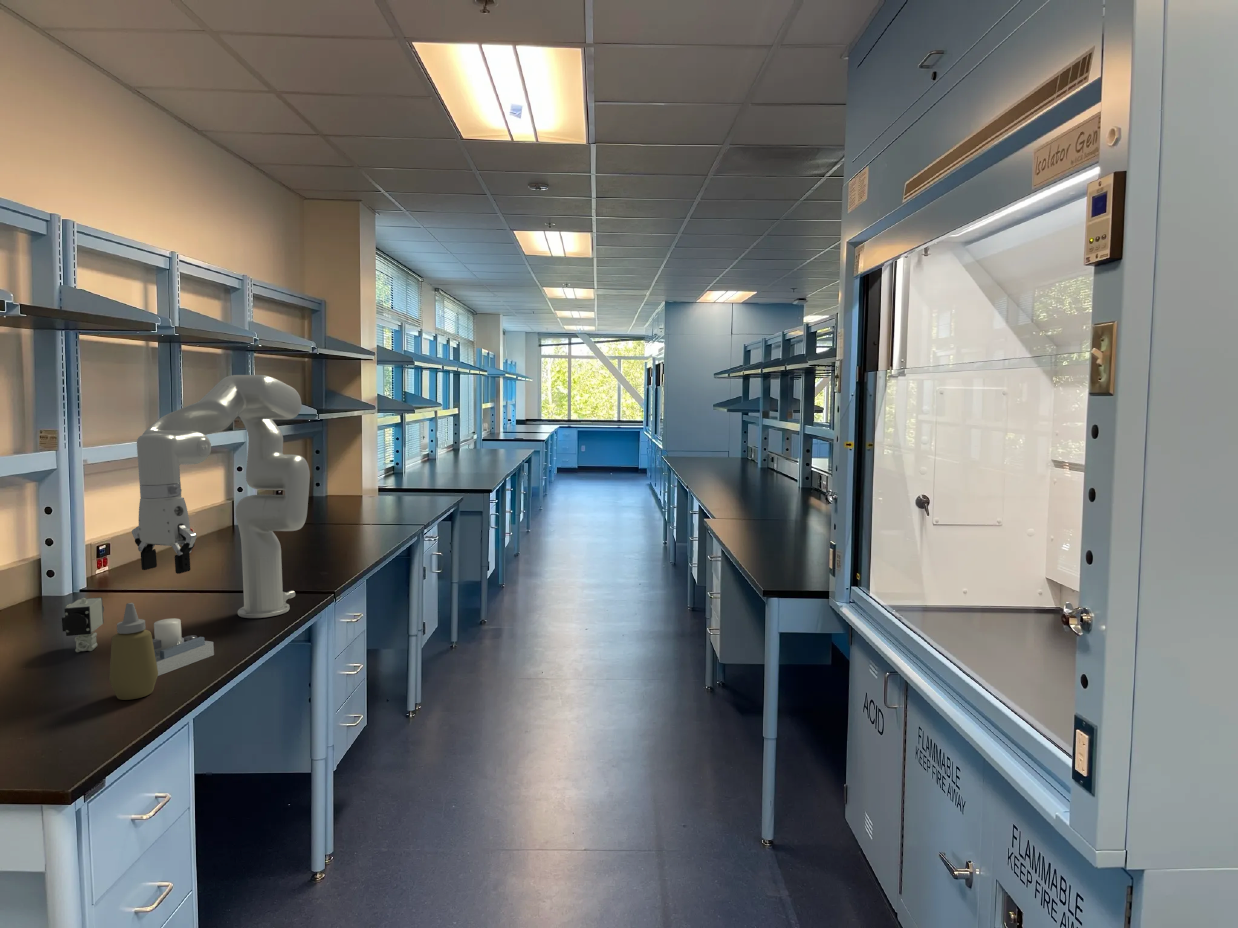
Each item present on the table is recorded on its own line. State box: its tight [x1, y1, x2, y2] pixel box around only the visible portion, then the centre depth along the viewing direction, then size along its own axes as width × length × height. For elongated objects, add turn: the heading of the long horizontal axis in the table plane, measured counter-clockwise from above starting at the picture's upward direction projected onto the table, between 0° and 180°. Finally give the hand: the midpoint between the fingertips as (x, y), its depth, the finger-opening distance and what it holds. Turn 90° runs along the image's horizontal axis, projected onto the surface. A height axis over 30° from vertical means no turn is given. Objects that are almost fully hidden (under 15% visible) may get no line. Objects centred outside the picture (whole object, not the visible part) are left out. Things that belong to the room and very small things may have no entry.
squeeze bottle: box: [108, 602, 159, 701], centre depth 148 cm, size 8×8×18 cm
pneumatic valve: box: [61, 596, 105, 653], centre depth 176 cm, size 6×12×12 cm, turn 18°
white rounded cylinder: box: [152, 618, 183, 653], centre depth 166 cm, size 7×5×6 cm
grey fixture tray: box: [152, 634, 215, 677], centre depth 167 cm, size 14×10×5 cm
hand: (166, 570), depth 166 cm, fingers open, 9 cm apart
